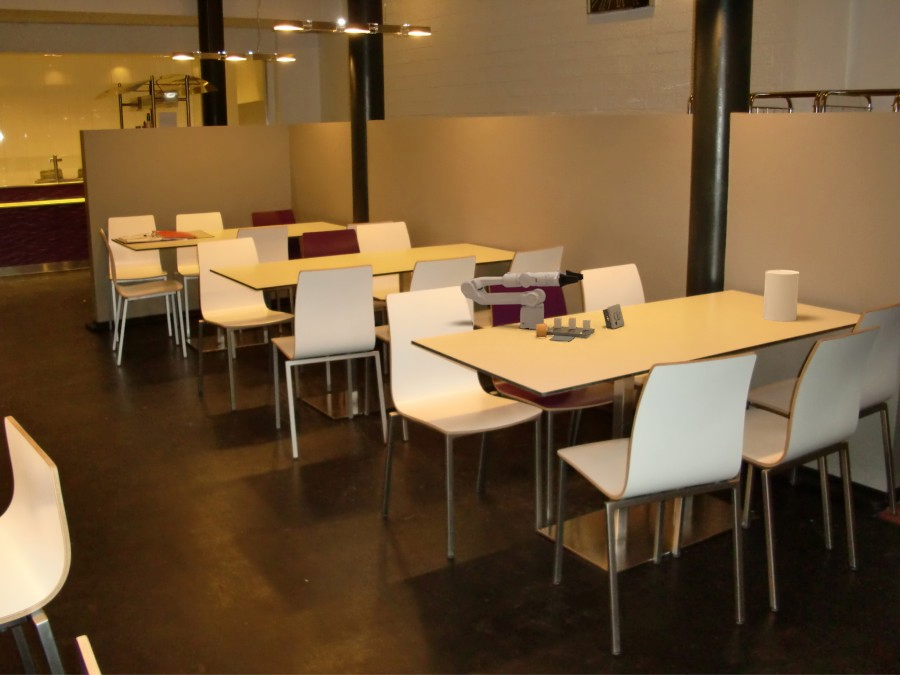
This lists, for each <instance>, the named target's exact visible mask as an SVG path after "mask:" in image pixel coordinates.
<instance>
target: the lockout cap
mask: <svg viewBox="0 0 900 675" xmlns="http://www.w3.org/2000/svg"><path fill="white" fill-rule="evenodd" d="M547 328H548V325H547V324H546V323H544V324H536V329H535V330H536V332H535V333H536V336H537V337H546V338H547V337H548V336H547V330H548V329H547ZM537 337H536V338H537Z"/></svg>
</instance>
